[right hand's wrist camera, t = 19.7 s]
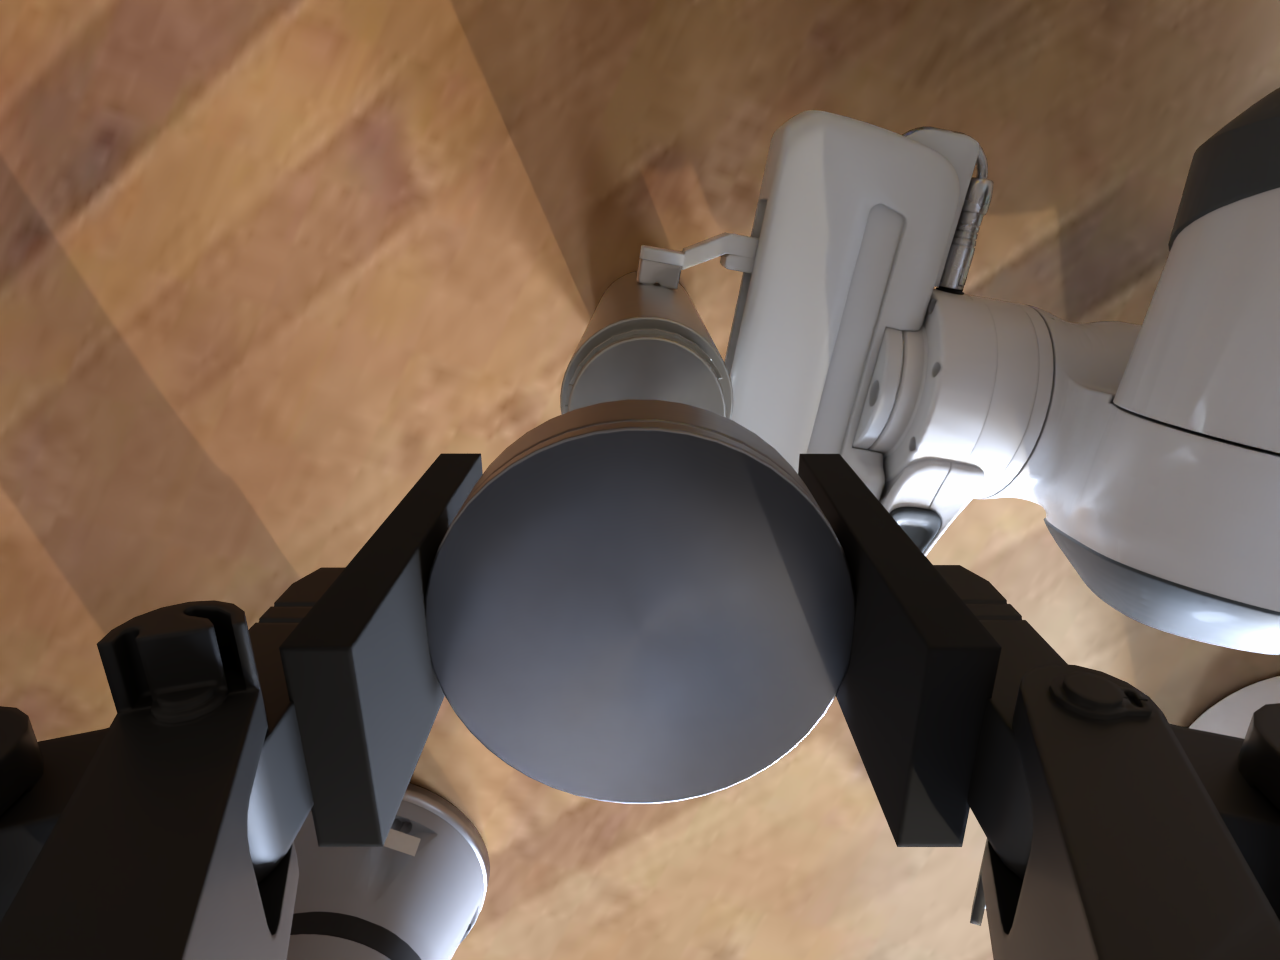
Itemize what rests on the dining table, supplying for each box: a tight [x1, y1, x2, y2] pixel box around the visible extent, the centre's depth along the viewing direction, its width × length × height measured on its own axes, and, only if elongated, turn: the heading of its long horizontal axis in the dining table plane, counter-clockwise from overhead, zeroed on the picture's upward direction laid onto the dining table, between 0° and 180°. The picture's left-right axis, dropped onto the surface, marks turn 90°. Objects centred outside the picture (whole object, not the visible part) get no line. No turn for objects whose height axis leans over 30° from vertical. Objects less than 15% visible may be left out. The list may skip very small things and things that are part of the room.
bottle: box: [560, 271, 734, 419], centre depth 29 cm, size 5×5×19 cm
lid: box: [425, 399, 856, 804], centre depth 11 cm, size 6×6×2 cm
